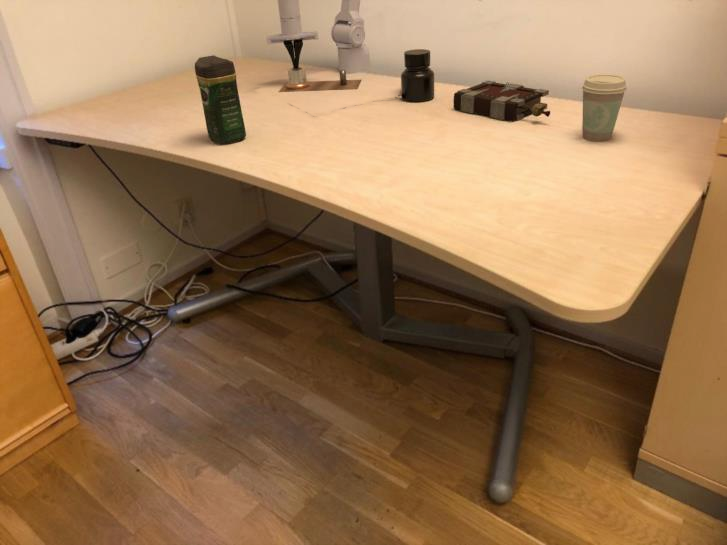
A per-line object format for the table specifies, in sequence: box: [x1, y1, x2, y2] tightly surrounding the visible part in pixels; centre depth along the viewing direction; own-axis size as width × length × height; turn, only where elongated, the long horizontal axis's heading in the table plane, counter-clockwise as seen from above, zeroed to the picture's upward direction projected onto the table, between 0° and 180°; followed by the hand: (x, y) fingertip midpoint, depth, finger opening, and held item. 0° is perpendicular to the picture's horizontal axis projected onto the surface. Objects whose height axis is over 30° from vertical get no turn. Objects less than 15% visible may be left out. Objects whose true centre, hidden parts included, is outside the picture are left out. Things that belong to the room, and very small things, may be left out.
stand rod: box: [339, 70, 347, 86], centre depth 169 cm, size 2×2×4 cm
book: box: [453, 80, 551, 122], centre depth 142 cm, size 15×25×5 cm, turn 43°
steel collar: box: [287, 66, 308, 85], centre depth 170 cm, size 5×5×4 cm
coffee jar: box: [194, 54, 247, 144], centre depth 134 cm, size 10×8×19 cm
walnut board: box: [277, 79, 362, 93], centre depth 171 cm, size 23×11×2 cm, turn 84°
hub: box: [285, 69, 310, 90], centre depth 170 cm, size 7×7×5 cm
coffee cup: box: [581, 74, 628, 142], centre depth 121 cm, size 9×8×12 cm
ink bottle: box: [400, 48, 435, 103], centre depth 155 cm, size 10×9×12 cm
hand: (295, 67), depth 171 cm, fingers closed, pressing on steel collar
